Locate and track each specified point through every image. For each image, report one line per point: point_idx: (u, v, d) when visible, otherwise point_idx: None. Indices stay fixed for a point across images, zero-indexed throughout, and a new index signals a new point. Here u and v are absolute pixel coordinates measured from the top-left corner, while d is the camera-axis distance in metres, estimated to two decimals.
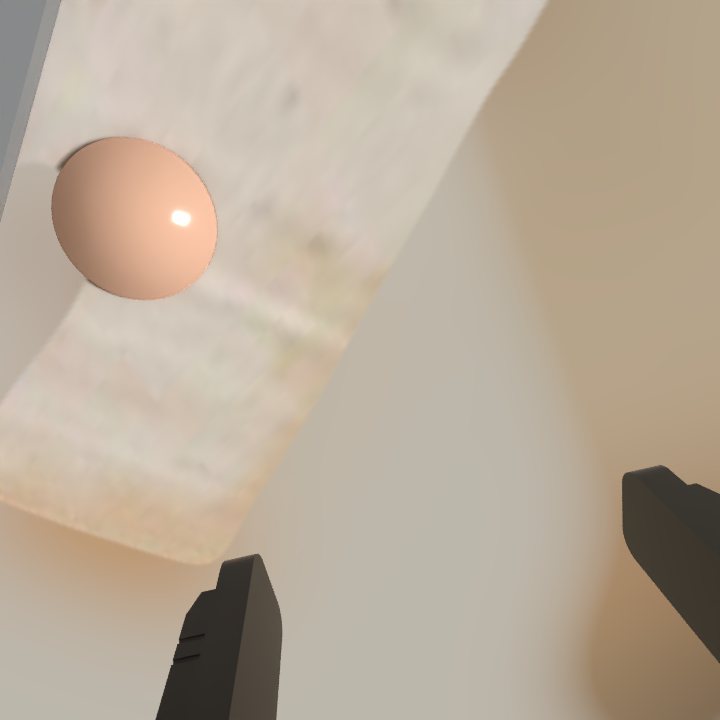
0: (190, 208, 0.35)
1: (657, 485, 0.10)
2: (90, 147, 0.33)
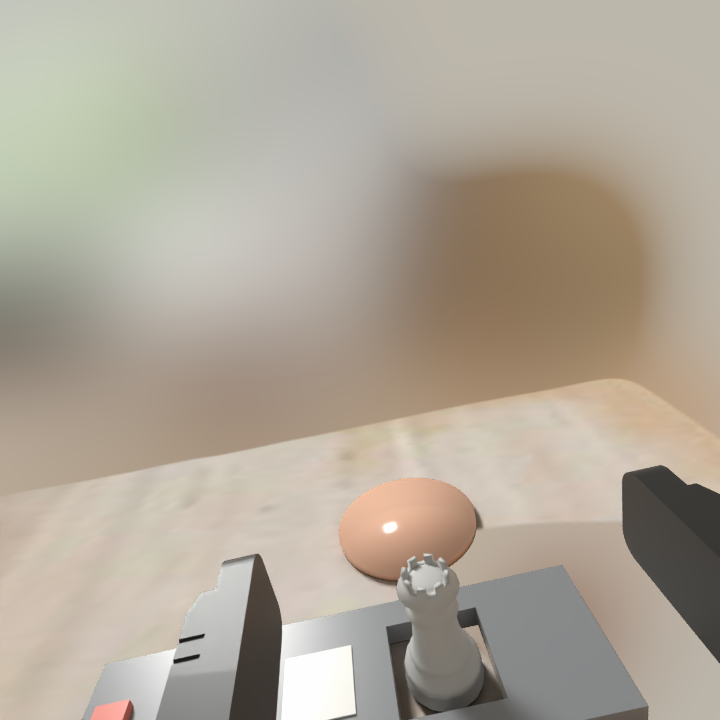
0: (370, 503, 0.43)
1: (657, 485, 0.10)
2: (369, 567, 0.36)
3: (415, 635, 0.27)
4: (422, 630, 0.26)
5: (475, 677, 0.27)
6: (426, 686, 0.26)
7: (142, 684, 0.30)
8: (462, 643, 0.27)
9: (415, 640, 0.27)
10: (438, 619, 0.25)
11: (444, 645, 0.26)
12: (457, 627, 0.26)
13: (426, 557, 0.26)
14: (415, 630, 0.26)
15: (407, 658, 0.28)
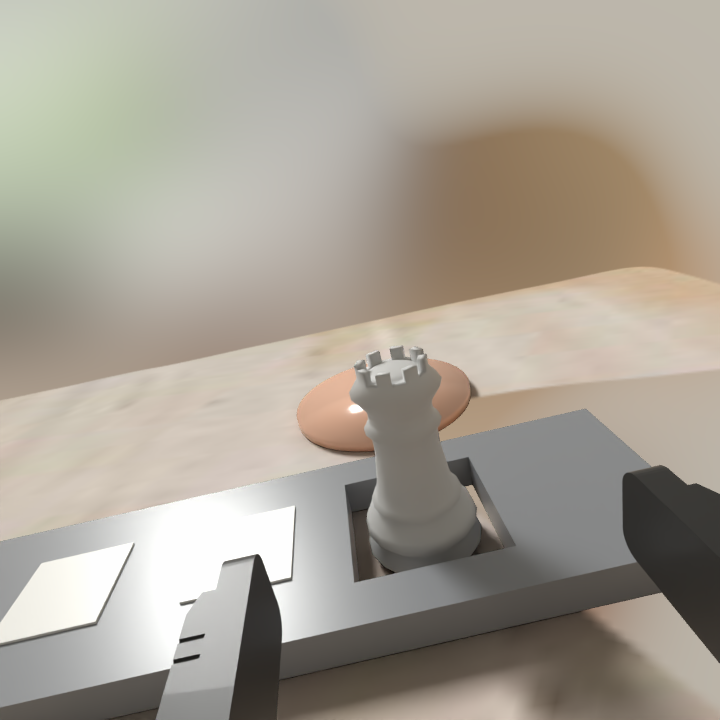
0: (338, 384, 0.34)
1: (657, 485, 0.10)
2: (331, 438, 0.28)
3: (379, 465, 0.18)
4: (387, 448, 0.17)
5: (467, 526, 0.18)
6: (395, 538, 0.18)
7: (5, 566, 0.22)
8: (448, 478, 0.18)
9: (379, 474, 0.18)
10: (409, 426, 0.17)
11: (419, 473, 0.17)
12: (440, 451, 0.18)
13: (394, 349, 0.18)
14: (378, 456, 0.18)
15: (370, 511, 0.19)
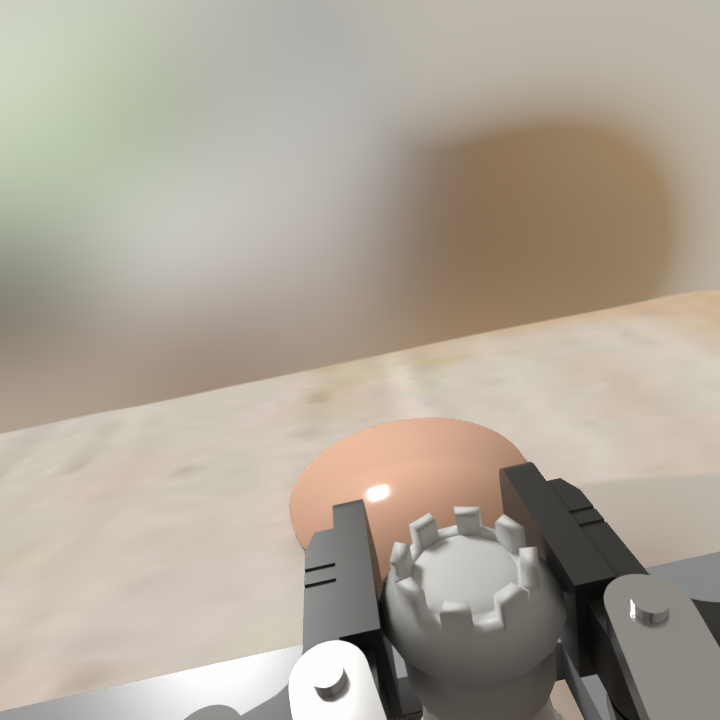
0: (346, 456, 0.26)
1: (519, 480, 0.11)
2: None
3: None
4: None
5: None
6: None
7: None
8: None
9: None
10: (503, 696, 0.08)
11: None
12: (549, 711, 0.10)
13: (464, 517, 0.09)
14: None
15: None
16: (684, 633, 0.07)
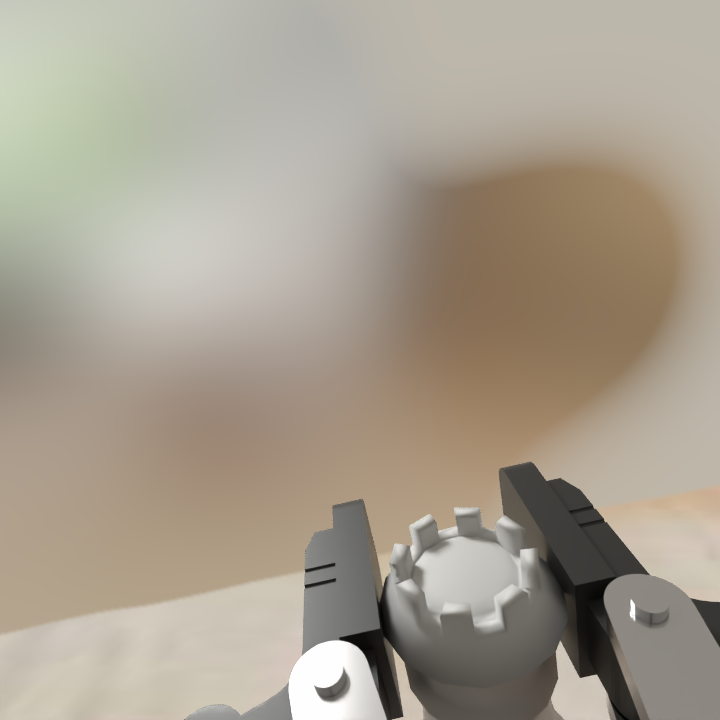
0: None
1: (520, 479, 0.11)
2: None
3: None
4: None
5: None
6: None
7: None
8: None
9: None
10: (505, 699, 0.08)
11: None
12: (550, 712, 0.09)
13: (464, 518, 0.09)
14: None
15: None
16: (684, 633, 0.07)
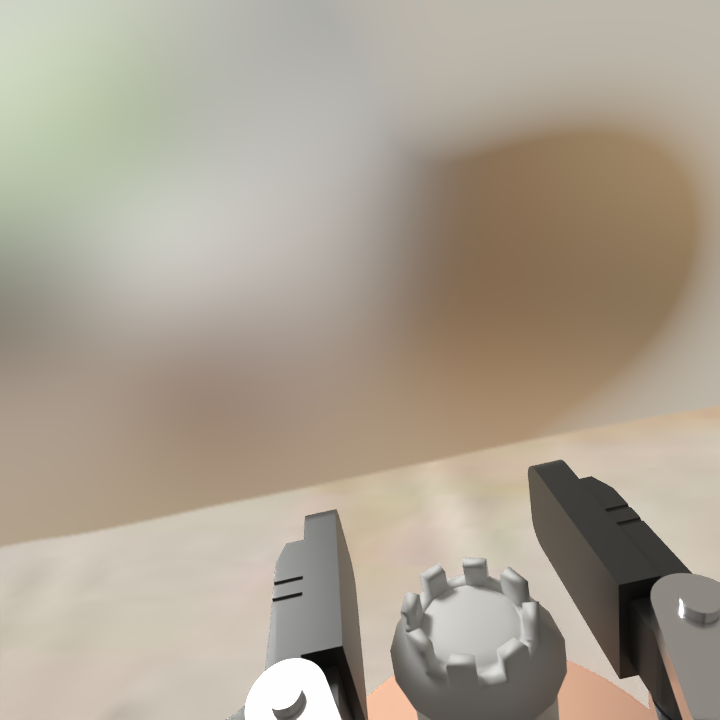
0: None
1: (551, 478, 0.11)
2: None
3: None
4: None
5: None
6: None
7: None
8: None
9: None
10: None
11: None
12: None
13: (472, 568, 0.10)
14: None
15: None
16: None
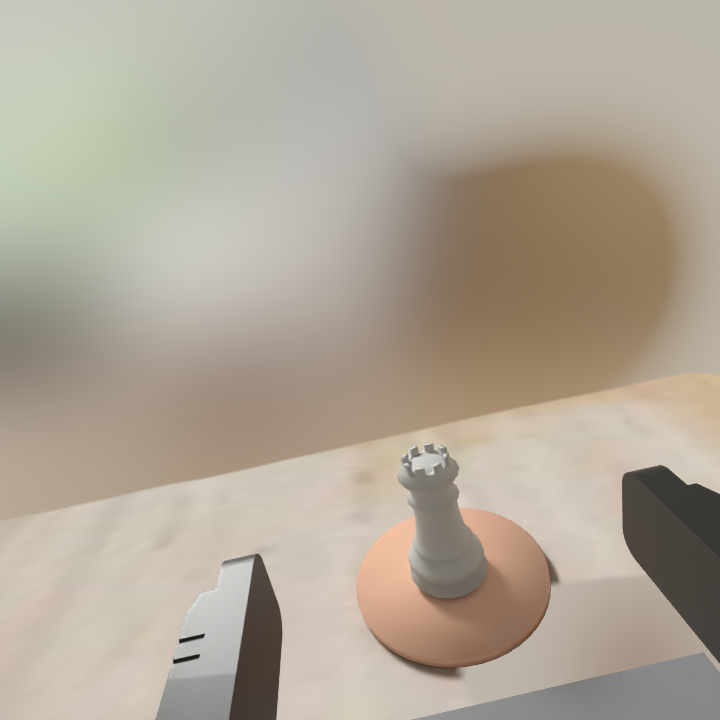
0: (397, 545, 0.32)
1: (657, 485, 0.10)
2: (403, 646, 0.25)
3: (417, 523, 0.27)
4: (423, 514, 0.26)
5: (477, 565, 0.27)
6: (428, 571, 0.27)
7: None
8: (464, 532, 0.27)
9: (417, 528, 0.27)
10: (437, 500, 0.26)
11: (444, 530, 0.26)
12: (458, 514, 0.27)
13: (427, 446, 0.27)
14: (417, 517, 0.27)
15: (410, 551, 0.29)
16: None
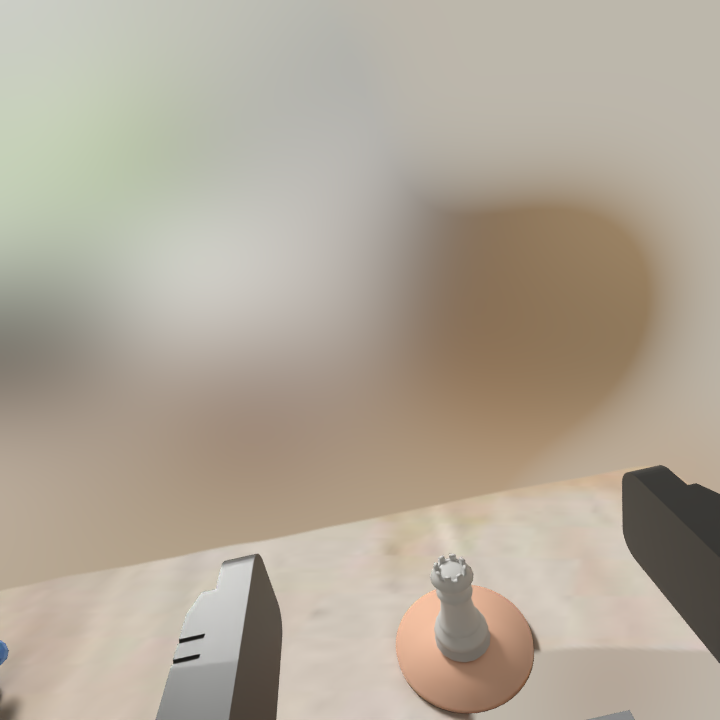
0: (423, 615, 0.44)
1: (657, 485, 0.10)
2: (433, 697, 0.37)
3: (442, 609, 0.39)
4: (447, 605, 0.38)
5: (483, 639, 0.39)
6: (450, 643, 0.39)
7: None
8: (475, 616, 0.39)
9: (442, 612, 0.39)
10: (458, 597, 0.37)
11: (462, 616, 0.38)
12: (471, 604, 0.39)
13: (451, 556, 0.39)
14: (442, 605, 0.39)
15: (436, 625, 0.40)
16: None
